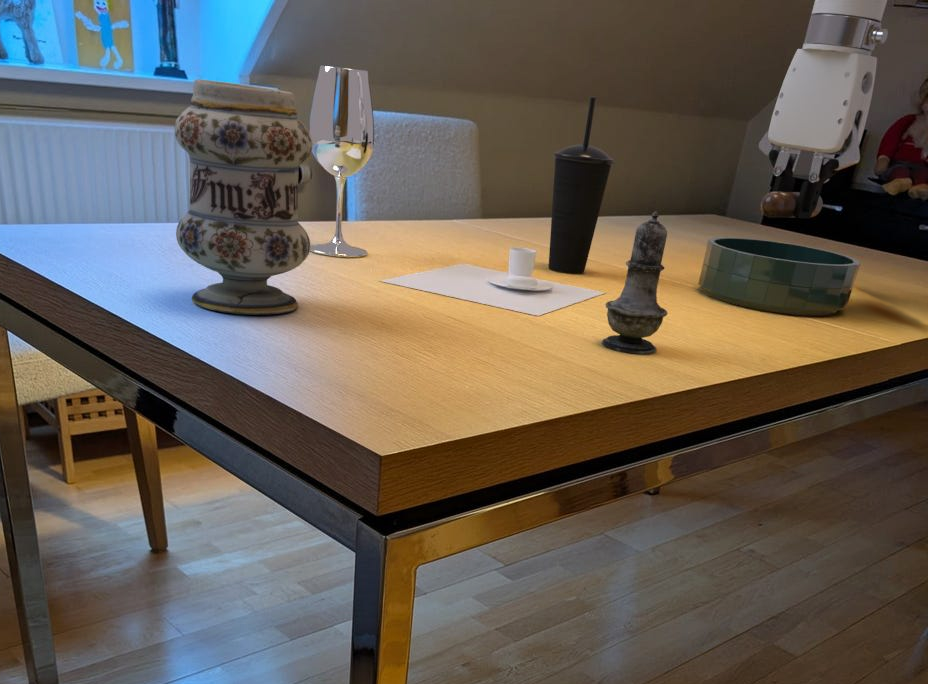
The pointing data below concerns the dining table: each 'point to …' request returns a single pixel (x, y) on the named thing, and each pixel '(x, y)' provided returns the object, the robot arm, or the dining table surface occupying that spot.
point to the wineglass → (341, 138)
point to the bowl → (777, 276)
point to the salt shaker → (639, 293)
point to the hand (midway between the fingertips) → (789, 213)
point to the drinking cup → (577, 201)
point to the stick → (784, 204)
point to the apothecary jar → (243, 193)
